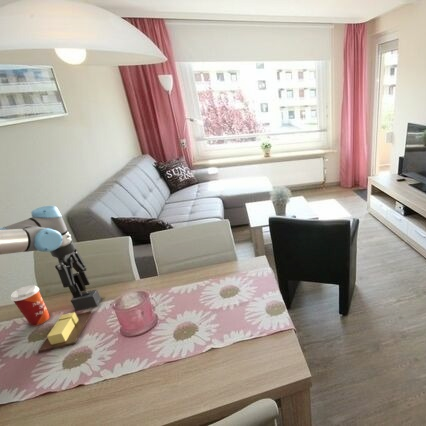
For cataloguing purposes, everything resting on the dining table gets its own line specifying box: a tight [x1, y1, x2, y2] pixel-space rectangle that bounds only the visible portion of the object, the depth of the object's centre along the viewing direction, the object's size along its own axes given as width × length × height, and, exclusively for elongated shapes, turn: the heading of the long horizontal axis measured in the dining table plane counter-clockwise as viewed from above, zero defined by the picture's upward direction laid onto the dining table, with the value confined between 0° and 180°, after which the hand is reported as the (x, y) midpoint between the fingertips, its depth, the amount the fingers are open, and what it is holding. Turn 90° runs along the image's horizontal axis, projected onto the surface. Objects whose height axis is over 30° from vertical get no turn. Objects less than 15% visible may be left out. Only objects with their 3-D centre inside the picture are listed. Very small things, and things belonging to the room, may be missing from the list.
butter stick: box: [46, 318, 75, 345], centre depth 110 cm, size 4×8×4 cm, turn 18°
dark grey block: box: [70, 288, 102, 312], centre depth 126 cm, size 8×5×6 cm, turn 108°
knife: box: [73, 272, 88, 296], centre depth 124 cm, size 3×2×15 cm, turn 108°
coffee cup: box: [10, 284, 51, 327], centre depth 117 cm, size 8×8×15 cm
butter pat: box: [58, 311, 78, 324], centre depth 115 cm, size 4×2×4 cm, turn 108°
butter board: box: [38, 310, 93, 353], centre depth 113 cm, size 11×17×1 cm, turn 18°
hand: (82, 290), depth 124 cm, fingers open, 8 cm apart
